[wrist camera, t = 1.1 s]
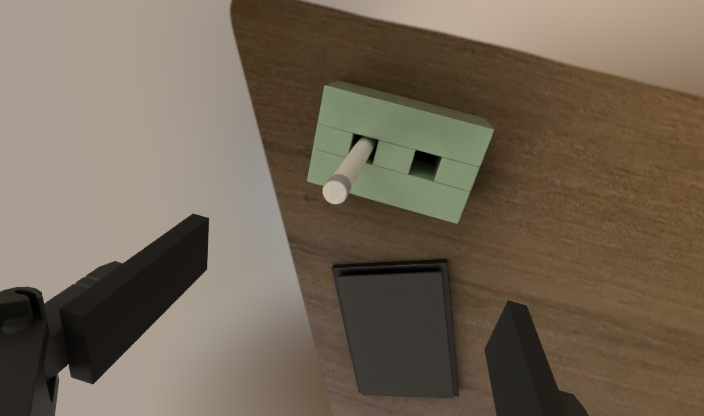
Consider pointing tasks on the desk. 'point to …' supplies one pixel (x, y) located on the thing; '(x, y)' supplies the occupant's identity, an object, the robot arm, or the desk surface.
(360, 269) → the tablet
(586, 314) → the desk surface
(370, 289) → the screen
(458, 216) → the pen stand
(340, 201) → the stylus
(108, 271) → the robot arm
